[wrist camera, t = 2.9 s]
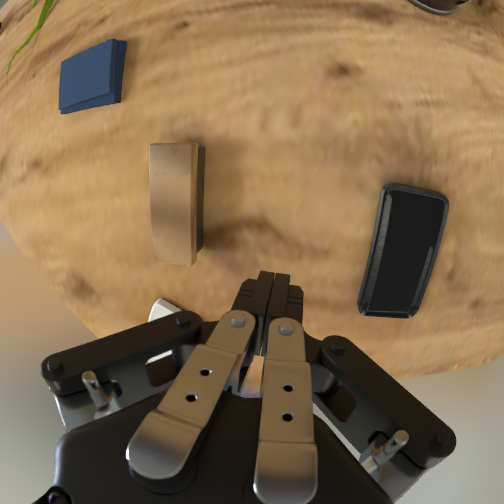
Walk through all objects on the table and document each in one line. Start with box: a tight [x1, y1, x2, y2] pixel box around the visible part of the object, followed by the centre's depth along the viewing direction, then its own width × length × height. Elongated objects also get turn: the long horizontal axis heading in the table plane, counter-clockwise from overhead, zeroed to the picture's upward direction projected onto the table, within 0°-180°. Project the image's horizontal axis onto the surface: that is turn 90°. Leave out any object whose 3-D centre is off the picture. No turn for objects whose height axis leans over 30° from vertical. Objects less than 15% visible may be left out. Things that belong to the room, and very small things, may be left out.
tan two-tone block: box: [150, 143, 205, 267], centre depth 27 cm, size 12×4×4 cm, turn 176°
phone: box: [357, 183, 449, 318], centre depth 26 cm, size 8×1×15 cm
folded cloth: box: [59, 39, 127, 114], centre depth 23 cm, size 8×10×2 cm
